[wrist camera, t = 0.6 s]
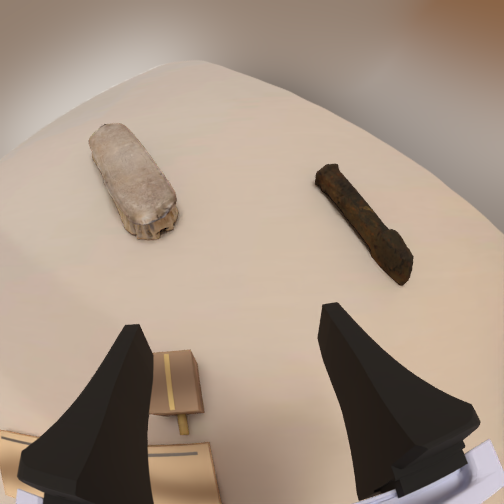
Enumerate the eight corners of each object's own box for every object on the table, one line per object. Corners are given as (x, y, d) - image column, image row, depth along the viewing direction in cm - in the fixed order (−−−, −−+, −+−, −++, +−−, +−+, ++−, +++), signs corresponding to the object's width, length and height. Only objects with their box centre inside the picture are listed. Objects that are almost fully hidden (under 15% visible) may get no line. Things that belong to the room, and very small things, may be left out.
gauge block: (207, 432, 24) (202, 434, 19) (166, 435, 24) (151, 437, 18) (197, 363, 28) (190, 349, 23) (158, 367, 27) (142, 353, 22)
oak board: (224, 514, 20) (223, 521, 17) (17, 493, 16) (5, 494, 14) (209, 441, 24) (207, 443, 22) (7, 430, 20) (-6, 428, 18)
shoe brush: (87, 154, 44) (79, 131, 39) (125, 136, 46) (120, 113, 42) (138, 254, 34) (128, 229, 30) (191, 225, 37) (187, 198, 33)
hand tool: (310, 184, 42) (317, 161, 39) (332, 179, 44) (340, 156, 40) (385, 295, 34) (402, 278, 30) (406, 283, 35) (424, 265, 31)
